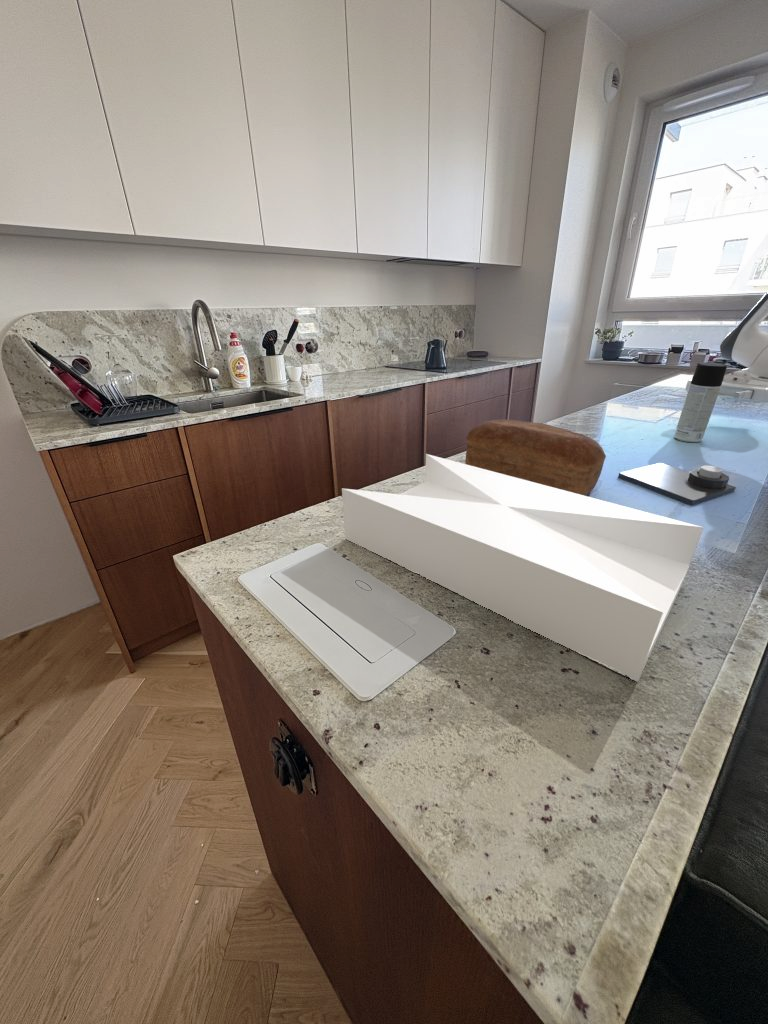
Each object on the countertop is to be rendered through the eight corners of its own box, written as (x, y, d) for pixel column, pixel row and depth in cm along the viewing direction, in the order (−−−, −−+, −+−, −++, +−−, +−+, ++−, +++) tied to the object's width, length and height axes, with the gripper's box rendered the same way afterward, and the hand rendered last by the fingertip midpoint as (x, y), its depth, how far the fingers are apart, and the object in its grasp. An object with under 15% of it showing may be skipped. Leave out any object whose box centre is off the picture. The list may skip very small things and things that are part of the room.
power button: (723, 477, 86) (726, 469, 85) (712, 480, 84) (715, 472, 84) (704, 472, 89) (707, 464, 88) (694, 475, 87) (697, 467, 87)
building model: (345, 539, 71) (341, 488, 67) (424, 497, 86) (425, 453, 81) (637, 683, 44) (663, 612, 40) (681, 586, 58) (704, 526, 54)
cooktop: (734, 492, 86) (740, 478, 84) (691, 506, 80) (696, 491, 79) (659, 467, 99) (663, 454, 97) (617, 477, 93) (620, 465, 92)
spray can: (699, 437, 118) (724, 362, 109) (704, 444, 113) (731, 366, 104) (672, 434, 121) (694, 361, 112) (675, 441, 115) (699, 365, 106)
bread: (487, 458, 106) (492, 409, 100) (604, 488, 88) (618, 431, 83) (455, 473, 97) (458, 421, 91) (578, 510, 79) (591, 448, 74)
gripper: (700, 371, 130) (680, 376, 123) (784, 380, 115) (766, 386, 108) (693, 392, 133) (673, 398, 126) (775, 403, 118) (757, 410, 111)
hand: (717, 392), depth 117 cm, fingers open, 8 cm apart
